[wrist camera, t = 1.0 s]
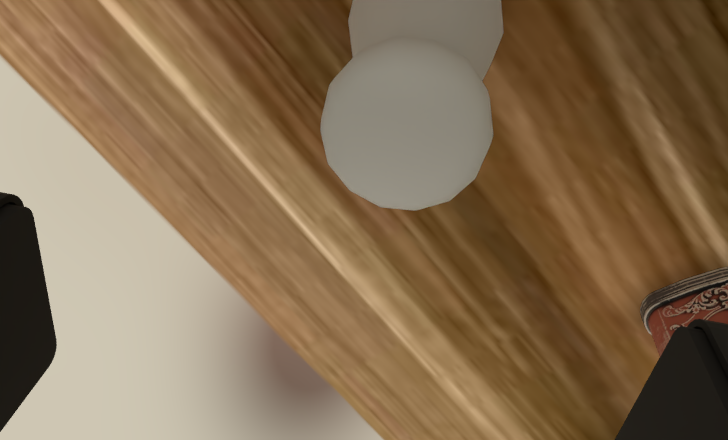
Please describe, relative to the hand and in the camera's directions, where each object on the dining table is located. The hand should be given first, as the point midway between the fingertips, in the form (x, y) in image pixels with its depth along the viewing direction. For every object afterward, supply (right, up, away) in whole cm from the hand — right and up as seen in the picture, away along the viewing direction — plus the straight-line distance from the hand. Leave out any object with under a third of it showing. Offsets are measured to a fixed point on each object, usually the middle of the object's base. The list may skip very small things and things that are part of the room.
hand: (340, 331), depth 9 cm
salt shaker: (+3, +10, +16) cm, 20 cm away
